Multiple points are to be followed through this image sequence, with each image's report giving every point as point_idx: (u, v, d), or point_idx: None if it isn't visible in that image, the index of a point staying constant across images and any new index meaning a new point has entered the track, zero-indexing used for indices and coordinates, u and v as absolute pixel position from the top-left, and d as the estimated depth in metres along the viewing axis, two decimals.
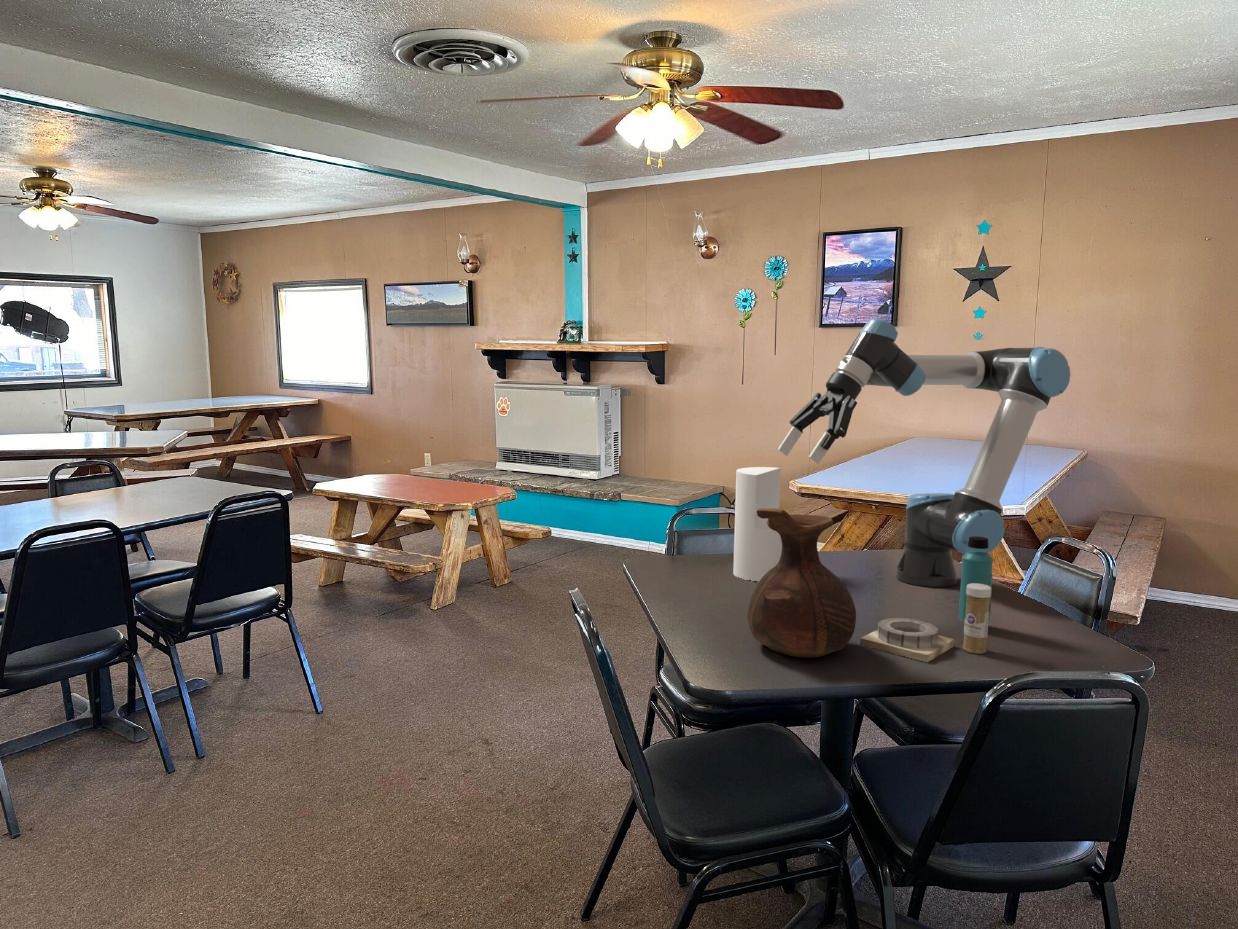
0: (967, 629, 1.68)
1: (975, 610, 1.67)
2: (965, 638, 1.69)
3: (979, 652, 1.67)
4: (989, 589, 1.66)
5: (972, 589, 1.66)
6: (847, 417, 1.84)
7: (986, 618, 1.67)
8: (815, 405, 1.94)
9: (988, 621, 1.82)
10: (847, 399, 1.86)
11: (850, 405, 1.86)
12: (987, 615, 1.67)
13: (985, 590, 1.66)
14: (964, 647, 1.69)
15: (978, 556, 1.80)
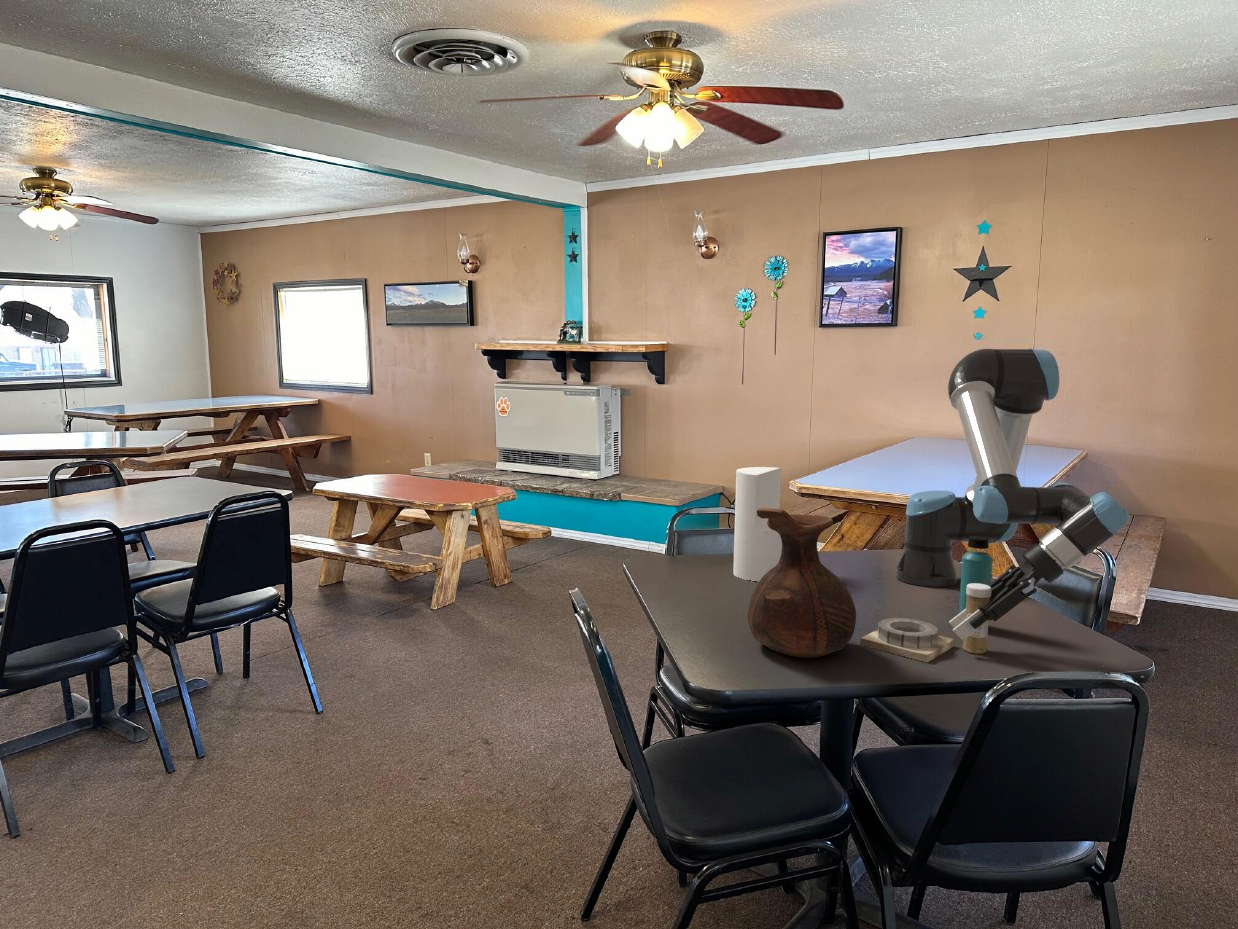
0: None
1: (975, 610, 1.67)
2: None
3: (979, 652, 1.67)
4: (989, 589, 1.66)
5: (972, 589, 1.66)
6: None
7: None
8: None
9: (988, 621, 1.82)
10: None
11: None
12: None
13: (985, 590, 1.66)
14: (964, 647, 1.69)
15: (978, 556, 1.80)
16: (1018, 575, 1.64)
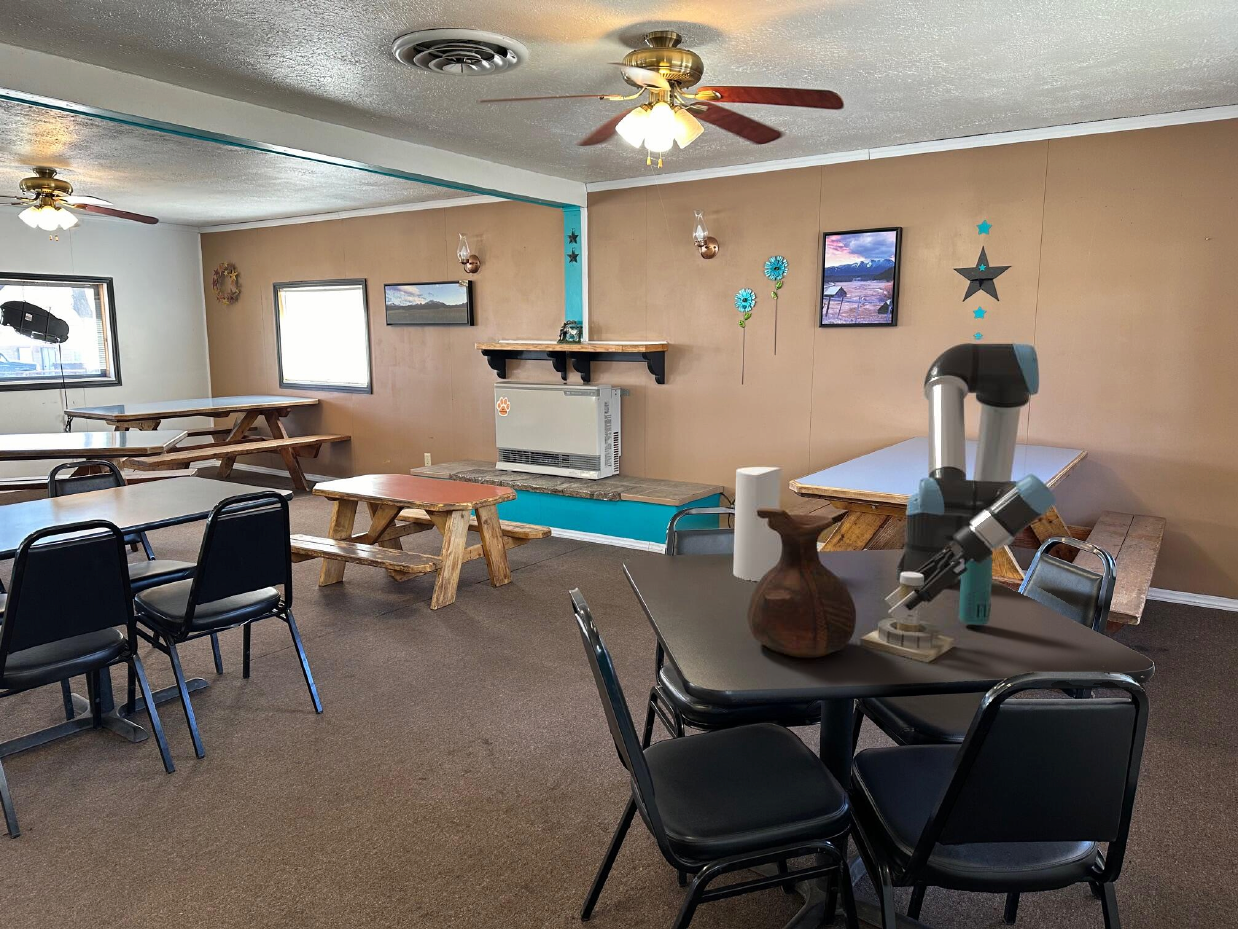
0: None
1: None
2: (898, 625, 1.71)
3: None
4: (921, 577, 1.69)
5: (905, 577, 1.69)
6: None
7: (919, 606, 1.69)
8: None
9: (988, 621, 1.82)
10: None
11: None
12: None
13: (917, 578, 1.68)
14: None
15: None
16: (949, 556, 1.66)
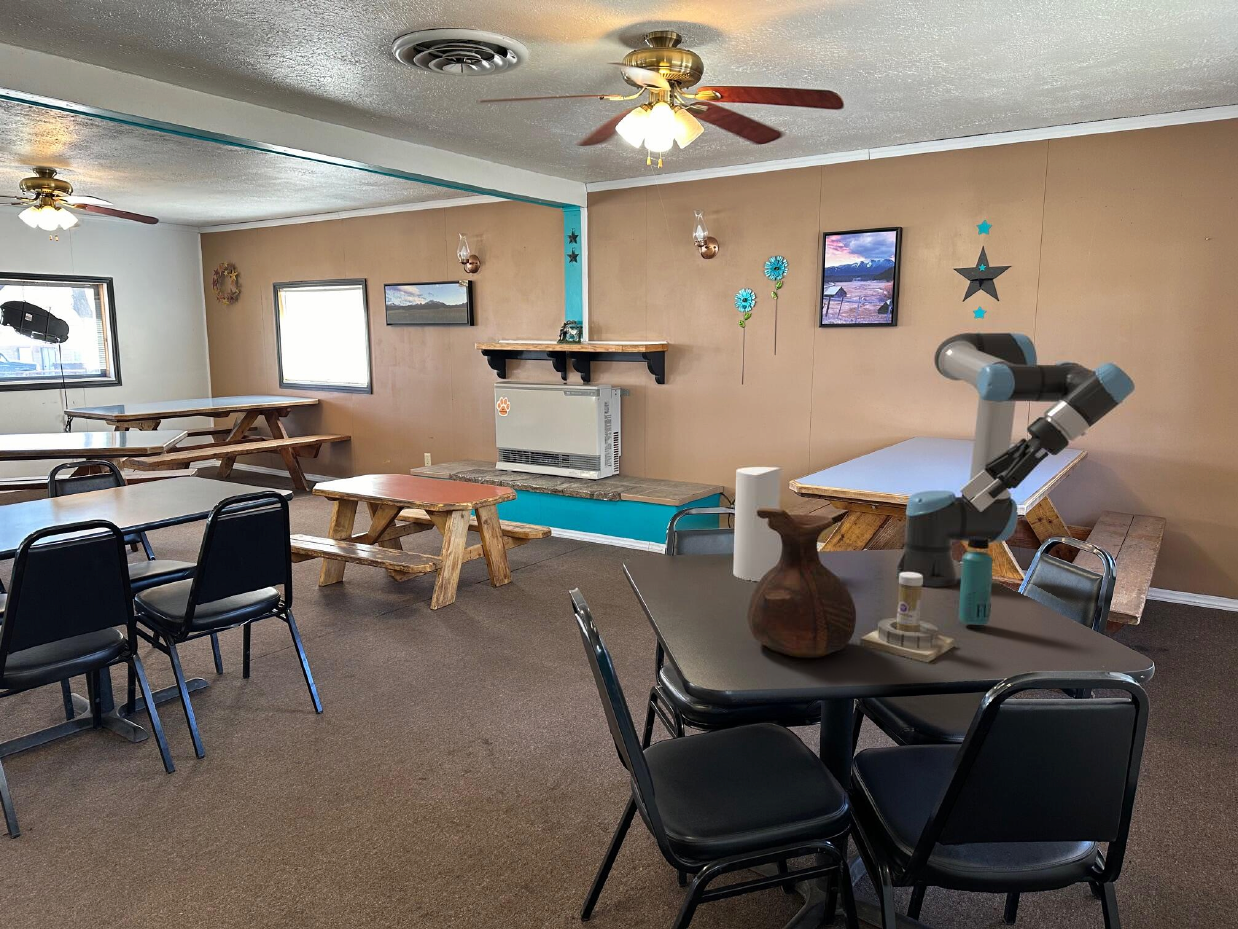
0: (899, 617, 1.71)
1: (907, 598, 1.69)
2: (898, 625, 1.71)
3: None
4: (920, 577, 1.68)
5: (904, 577, 1.69)
6: None
7: (918, 606, 1.69)
8: None
9: (988, 621, 1.82)
10: None
11: None
12: (919, 603, 1.69)
13: (916, 578, 1.68)
14: None
15: (978, 556, 1.80)
16: (1025, 446, 1.65)
